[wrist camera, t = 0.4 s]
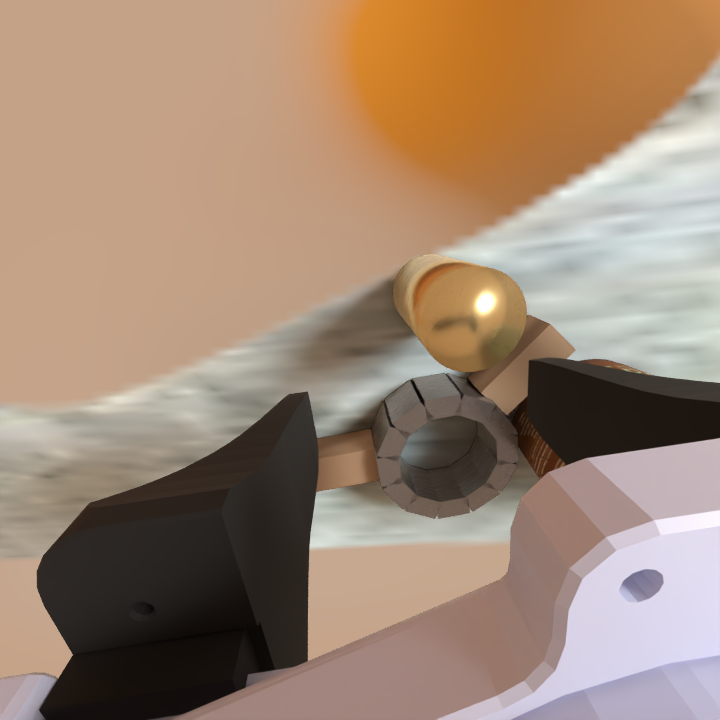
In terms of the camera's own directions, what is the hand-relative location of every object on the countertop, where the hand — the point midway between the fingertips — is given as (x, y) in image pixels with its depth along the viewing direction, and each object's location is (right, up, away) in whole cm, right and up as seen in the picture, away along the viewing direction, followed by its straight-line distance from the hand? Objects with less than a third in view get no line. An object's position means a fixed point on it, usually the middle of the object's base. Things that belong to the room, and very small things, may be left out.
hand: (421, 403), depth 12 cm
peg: (+2, +5, +8) cm, 10 cm away
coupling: (0, -1, +11) cm, 11 cm away
